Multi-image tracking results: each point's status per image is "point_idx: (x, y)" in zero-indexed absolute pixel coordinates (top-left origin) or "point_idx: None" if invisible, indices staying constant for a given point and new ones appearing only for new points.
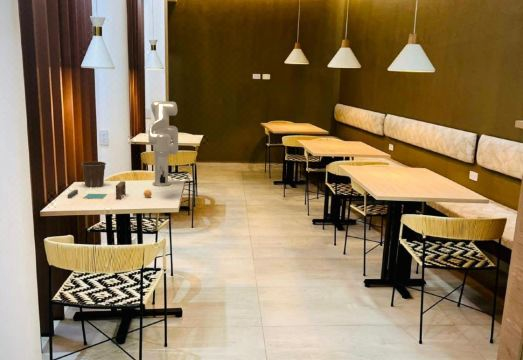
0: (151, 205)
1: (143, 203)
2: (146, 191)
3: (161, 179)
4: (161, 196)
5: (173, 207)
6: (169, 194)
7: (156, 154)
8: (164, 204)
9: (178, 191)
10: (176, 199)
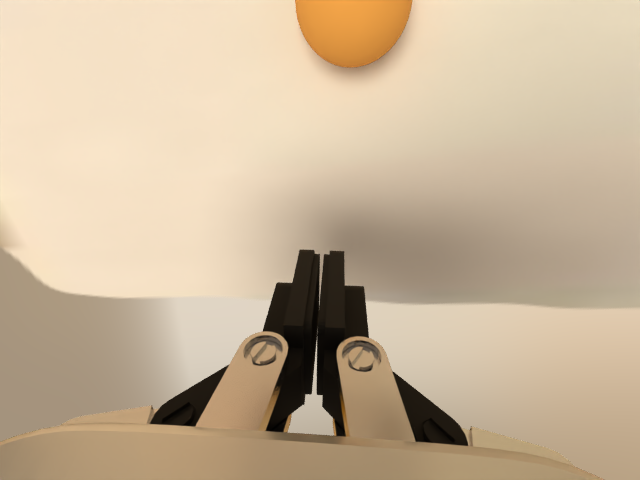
0: (20, 117)
1: (53, 10)
2: None
3: (269, 313)
4: (401, 171)
5: (49, 285)
6: (486, 238)
7: None
8: (103, 223)
9: (604, 304)
10: None
